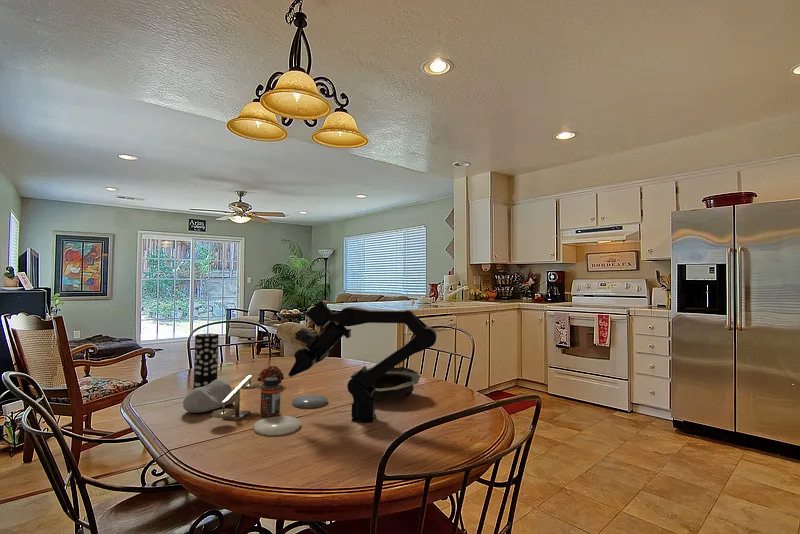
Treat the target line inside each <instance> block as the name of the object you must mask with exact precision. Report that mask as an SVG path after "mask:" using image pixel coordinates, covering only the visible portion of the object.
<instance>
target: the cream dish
mask: <svg viewBox="0 0 800 534" xmlns="http://www.w3.org/2000/svg"><path fill="white" fill-rule="evenodd" d="M301 425H302V424H301V420H300V419H299V418H297V417H294V416H289V415H288V416H287V415H279V416H278V415H276V416H272V417H265V418H262V419H260V420H258V421H256V422H255V423H254V425H253V431H254V432H255V433H256V434H259V435H263V436H266V437H267V436H270V437H272V436H273V437H274V436H275V437H276V436H283V435H288V434H292V433H294V432H297V431H298V430H299V429H301Z"/></svg>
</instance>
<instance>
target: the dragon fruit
mask: <svg viewBox="0 0 800 534" xmlns="http://www.w3.org/2000/svg"><path fill="white" fill-rule="evenodd" d="M269 377H275V378H278V385H280V384H281V383H282V381H283V380H284V379H285V377H284V374H283V372H282V371H281V369H280V368H279V367H278V366H277V365H276V366H275V365H269V366H268V367H267V368H264V369H262V370H261V372H260V373H259V374H258V377H257V379H256V380H257V382H259V383H260V382H261V383H263V384H262V386H263V385H264V384H265V383H264V382H265V379H266V378H269Z"/></svg>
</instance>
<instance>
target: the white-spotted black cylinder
mask: <svg viewBox="0 0 800 534" xmlns="http://www.w3.org/2000/svg"><path fill="white" fill-rule="evenodd" d="M194 337H195V338H194V363H193V367H194V368H193V369H194V370H193V389H195V388H199V387H204V386H206V385H208V384H210V383H211V382H213V381H214V380H216V379H218V366H219V365H218V363H219V334H218V333H198V334H195V335H194Z"/></svg>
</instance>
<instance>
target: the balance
mask: <svg viewBox="0 0 800 534" xmlns="http://www.w3.org/2000/svg"><path fill="white" fill-rule="evenodd" d="M252 377H253V376H252V375H251V374H250V375H248V376H246V377H245V379H243V380H242V381H241V382H240V383H239V384H238V386H236V387H235V388H234V389H232V390H233V391H232V392H231V393H230V394H229V395H228V396H227V397H226V398H225V399H224V400H223V401H222V404H223V407H222V409H217V410H216V409H215V410H212V412H211V417H212V418H214V419H222V420H226V421H227V420H231V421H240V422H241V421H242V420H244V419H246V418H247V417H249V416H251V414H252V411H251V410H242V409H240V407H241V405H240V403H241V402H240V401H241V389H243V390H255V389H258V388H260V387H261V383H260V382H258V381H257V382H256V381H254V382H253V381H252V379H253V378H252ZM234 395H235V401H234V409H232V408H226V407H225V405H226V404H227V403H228V401H229V400H230V399H231V398H232V397H233V396H234ZM226 406H227V405H226Z"/></svg>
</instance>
